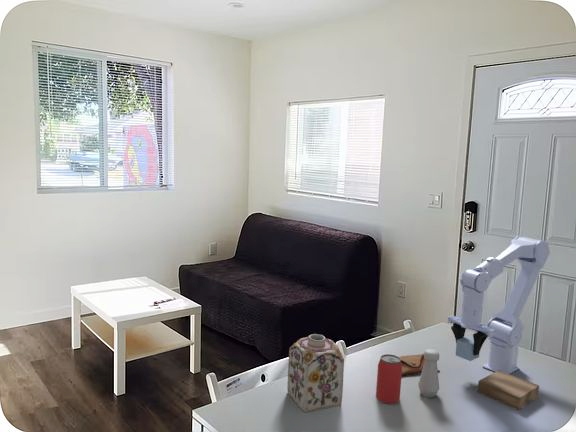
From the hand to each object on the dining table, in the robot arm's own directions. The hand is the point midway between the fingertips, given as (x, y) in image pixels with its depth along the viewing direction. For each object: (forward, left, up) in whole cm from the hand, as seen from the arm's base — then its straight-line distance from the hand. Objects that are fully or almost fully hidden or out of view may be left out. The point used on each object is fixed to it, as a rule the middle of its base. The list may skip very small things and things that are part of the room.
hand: (467, 351), depth 150 cm
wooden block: (0, +13, -9) cm, 16 cm away
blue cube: (0, 0, -2) cm, 2 cm away
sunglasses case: (+10, -13, -9) cm, 19 cm away
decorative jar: (+48, -18, -9) cm, 52 cm away
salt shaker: (+19, -1, -9) cm, 21 cm away
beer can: (+31, -6, -9) cm, 33 cm away
